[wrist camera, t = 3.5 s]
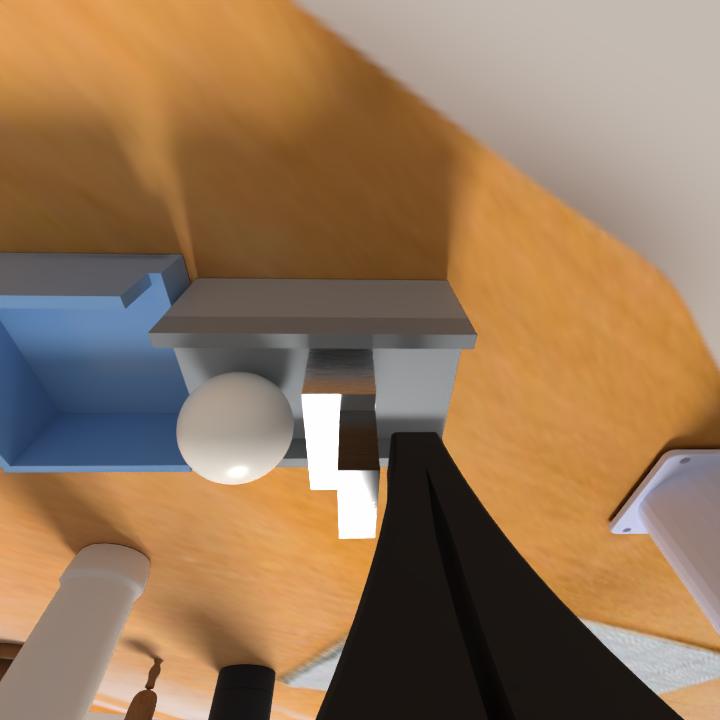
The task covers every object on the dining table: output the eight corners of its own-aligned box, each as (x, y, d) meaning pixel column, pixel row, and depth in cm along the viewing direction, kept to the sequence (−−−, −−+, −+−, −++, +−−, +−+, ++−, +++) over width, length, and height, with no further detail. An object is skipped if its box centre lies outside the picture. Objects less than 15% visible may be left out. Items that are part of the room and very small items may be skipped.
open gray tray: (447, 280, 14) (477, 334, 10) (427, 398, 17) (445, 466, 14) (196, 277, 13) (147, 333, 10) (228, 397, 17) (198, 467, 14)
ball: (290, 419, 9) (144, 436, 9) (300, 498, 11) (183, 517, 11) (286, 345, 12) (176, 355, 11) (295, 420, 14) (202, 431, 13)
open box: (182, 254, 13) (134, 296, 10) (225, 411, 17) (201, 471, 15) (-40, 252, 13) (-153, 294, 10) (62, 411, 17) (5, 472, 14)
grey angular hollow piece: (372, 345, 12) (381, 453, 8) (367, 435, 14) (373, 548, 10) (309, 345, 11) (291, 453, 8) (316, 435, 14) (304, 549, 10)
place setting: (-47, 614, 32) (-117, 704, 27) (179, 649, 38) (154, 727, 34) (-41, 668, 41) (-93, 744, 36) (143, 689, 47) (119, 756, 42)
